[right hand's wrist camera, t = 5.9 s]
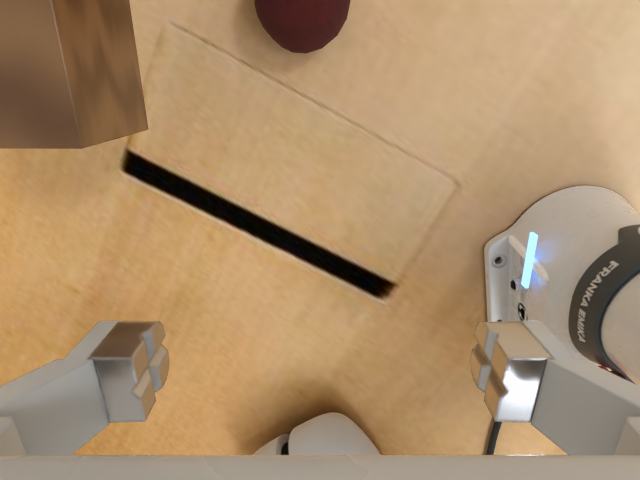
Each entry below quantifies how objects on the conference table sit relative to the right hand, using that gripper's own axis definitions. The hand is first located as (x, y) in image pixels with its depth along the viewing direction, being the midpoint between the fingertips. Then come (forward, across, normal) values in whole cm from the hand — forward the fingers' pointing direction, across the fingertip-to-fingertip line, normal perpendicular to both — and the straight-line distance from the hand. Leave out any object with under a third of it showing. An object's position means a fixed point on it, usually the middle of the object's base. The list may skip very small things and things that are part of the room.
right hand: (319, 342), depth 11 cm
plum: (+32, -1, +12) cm, 35 cm away
